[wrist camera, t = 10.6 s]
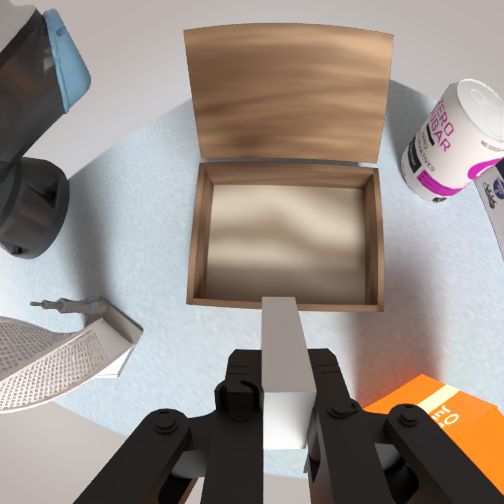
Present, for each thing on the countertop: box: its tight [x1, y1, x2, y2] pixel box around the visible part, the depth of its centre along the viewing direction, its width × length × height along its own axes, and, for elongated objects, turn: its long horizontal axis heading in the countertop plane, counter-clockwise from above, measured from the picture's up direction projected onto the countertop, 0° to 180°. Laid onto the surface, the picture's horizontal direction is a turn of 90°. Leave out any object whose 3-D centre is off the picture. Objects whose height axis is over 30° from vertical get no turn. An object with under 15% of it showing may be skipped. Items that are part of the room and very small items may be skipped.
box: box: [186, 162, 384, 312], centre depth 30 cm, size 14×18×5 cm
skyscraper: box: [0, 297, 143, 414], centre depth 18 cm, size 8×8×28 cm
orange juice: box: [363, 374, 504, 495], centre depth 17 cm, size 8×9×20 cm
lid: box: [184, 23, 394, 164], centre depth 23 cm, size 1×17×13 cm
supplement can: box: [401, 78, 504, 203], centre depth 25 cm, size 8×8×15 cm
